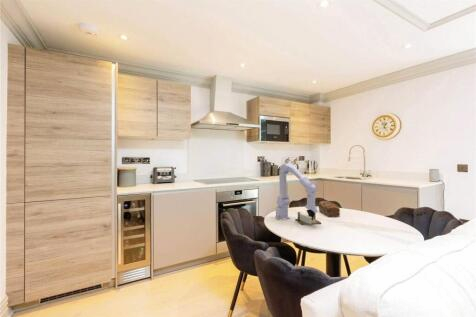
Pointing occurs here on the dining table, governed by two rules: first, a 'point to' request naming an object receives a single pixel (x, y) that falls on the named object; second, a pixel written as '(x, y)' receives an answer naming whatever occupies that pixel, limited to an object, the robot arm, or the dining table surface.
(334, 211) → the bread
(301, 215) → the gate leaf
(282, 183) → the robot arm
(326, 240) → the dining table surface
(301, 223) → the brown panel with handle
